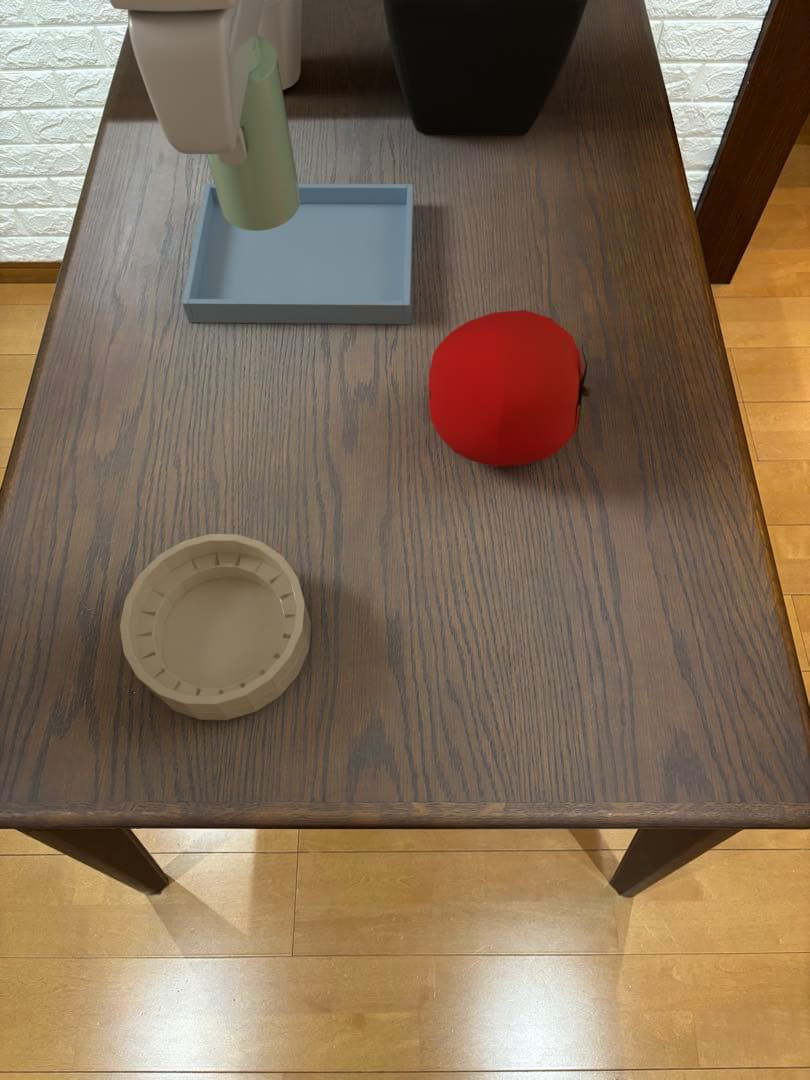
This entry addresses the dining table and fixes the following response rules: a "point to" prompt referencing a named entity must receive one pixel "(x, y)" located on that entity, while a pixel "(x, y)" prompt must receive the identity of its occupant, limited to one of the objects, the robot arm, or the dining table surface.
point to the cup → (283, 36)
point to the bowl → (216, 626)
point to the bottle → (260, 153)
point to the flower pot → (479, 60)
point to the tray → (307, 260)
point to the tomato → (507, 388)
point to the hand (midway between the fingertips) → (242, 121)
